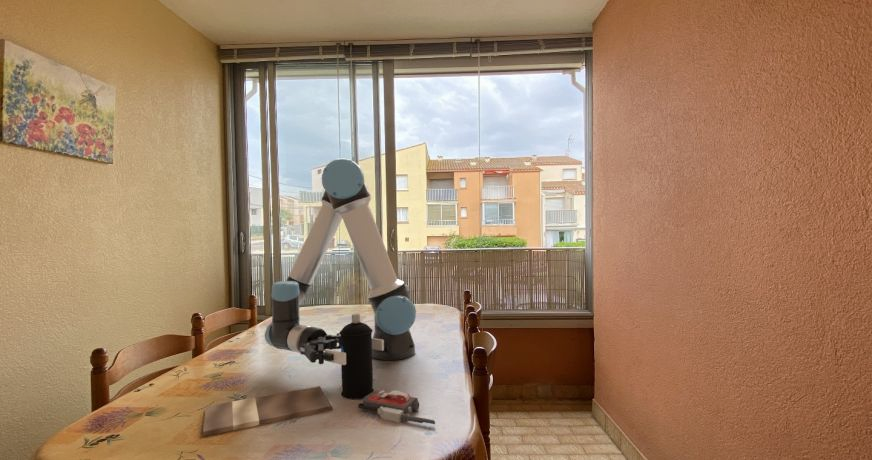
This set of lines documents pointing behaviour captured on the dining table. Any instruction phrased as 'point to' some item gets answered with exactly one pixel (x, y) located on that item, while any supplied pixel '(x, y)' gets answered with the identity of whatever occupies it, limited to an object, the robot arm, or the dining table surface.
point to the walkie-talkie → (393, 406)
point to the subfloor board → (264, 410)
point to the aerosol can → (357, 359)
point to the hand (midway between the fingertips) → (365, 351)
